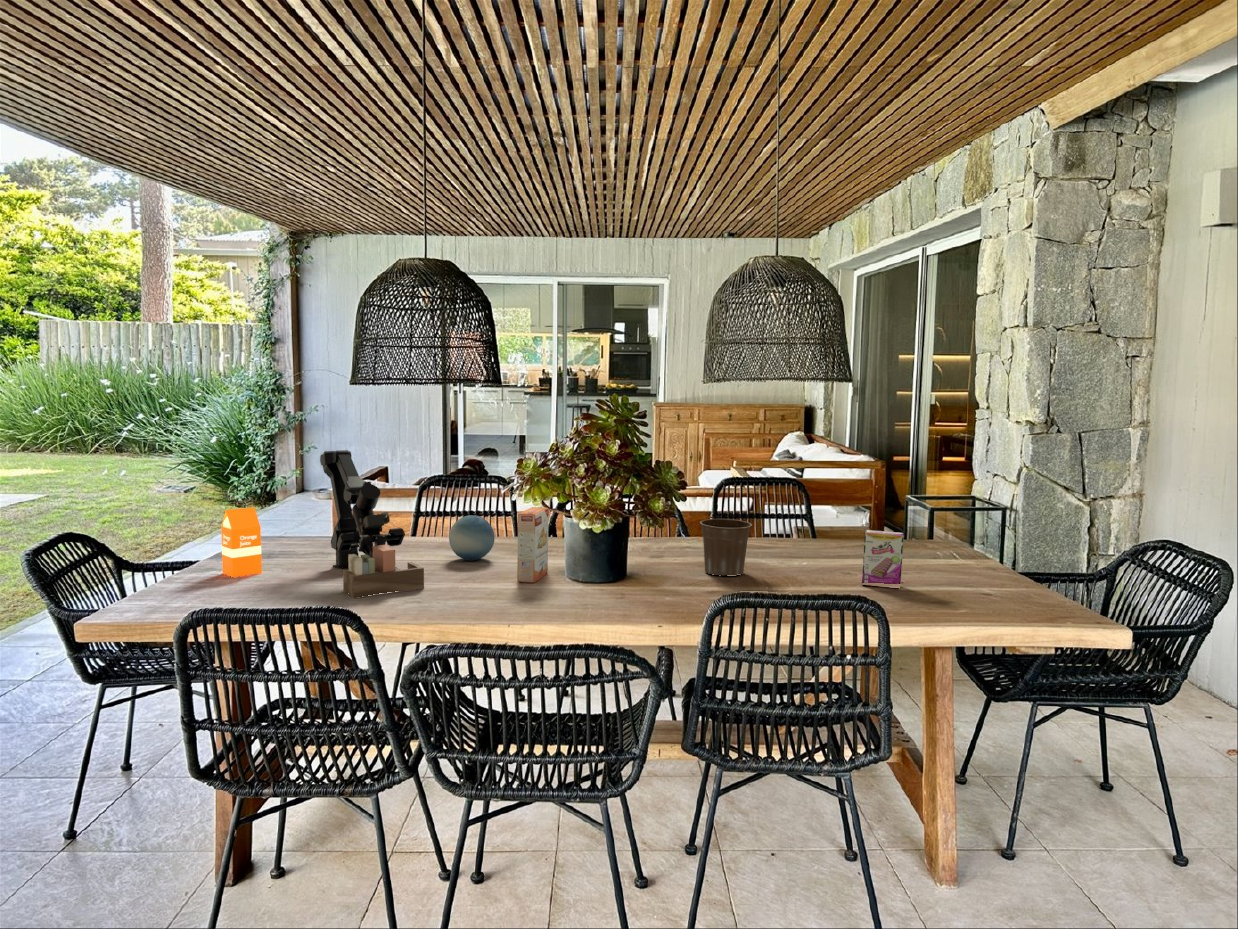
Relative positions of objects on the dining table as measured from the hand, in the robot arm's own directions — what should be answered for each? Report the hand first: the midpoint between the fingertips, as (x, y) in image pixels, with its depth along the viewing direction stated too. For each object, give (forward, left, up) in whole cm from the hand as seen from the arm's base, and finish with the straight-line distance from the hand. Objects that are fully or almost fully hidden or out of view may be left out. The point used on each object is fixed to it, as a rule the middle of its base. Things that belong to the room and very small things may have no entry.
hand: (378, 563), depth 236 cm
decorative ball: (+3, +42, -7) cm, 43 cm away
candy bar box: (+131, +70, -7) cm, 149 cm away
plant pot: (+84, +64, -7) cm, 106 cm away
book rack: (+3, -2, -7) cm, 8 cm away
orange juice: (-47, -7, -7) cm, 48 cm away
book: (+4, -2, -7) cm, 8 cm away
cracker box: (+34, +30, -7) cm, 46 cm away
